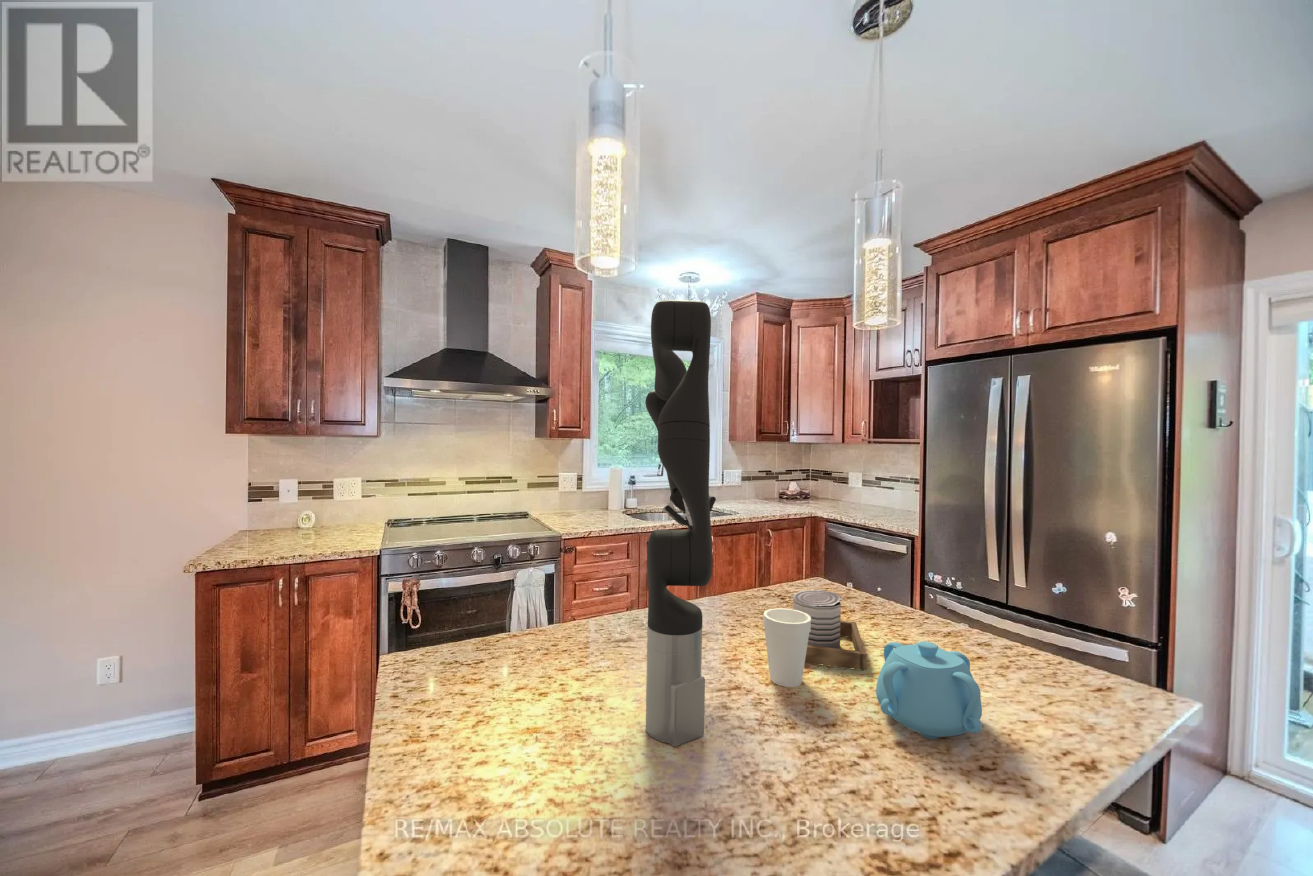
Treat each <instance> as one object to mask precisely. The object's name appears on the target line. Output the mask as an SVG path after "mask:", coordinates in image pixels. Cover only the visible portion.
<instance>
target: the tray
mask: <svg viewBox="0 0 1313 876" xmlns="http://www.w3.org/2000/svg"><path fill="white" fill-rule="evenodd" d="M840 635H842V636H841V637H845V636H851V637H852V638H851V637H850V638H851V641H853V642H852V646H853V649H855V650H852V649H851V650H850V649H843V648H842V649H841V648H840V649H836V648H827V647H819V646H811V645H807V651H806V657H805V664H811V665H818V664H823V665H822V666H826V665H830V666H829V667H833V666H836V667H835V668H841V667H842V669H843V668H844V669H849V668H854V669H853V670H856V669H861V670H860V671H864V670H866V668H867V653H866V650H865V647H864V643H863V641H862V637H861V633H860V631H859V627H858V623H857V622H856V621H847V620H840Z"/></svg>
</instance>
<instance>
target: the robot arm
mask: <svg viewBox="0 0 1313 876" xmlns="http://www.w3.org/2000/svg"><path fill="white" fill-rule="evenodd" d="M650 318H651V320H650V337H651V338H650V340H651V349H652V357H653V363H654V367H655V368H654V369H655V373H654V374H655V375H654V390H652V391H649V392H648V393H647V395H646V397H645V401H644V402H645V408H646V410H647V412H648V415H649V416H650V418H651V420H652V421H653V424H654V425H655V427H656V430H657V453H658V454H657V455H658V457H659V460H660V462H661V464H662V466H663V468H664V469H665V472H666V476H667V480H668V485H669V489H670V497H669V499H670V501H669V502H668V503H667V504H666V506H664V507H663V511H664V513H666V514H667V515H668V516H669V517H671V518H672V519H673V520H674V521H675V522H677V524H679V525H680V526H686V527H687V529H664V528H663V529H655V530H653V531H652V532H651V533H650V535H649V536H648V537H649V538H648V540H647V551H646V553H647V554H646V556H647V558H646V559H647V561H646V562H647V583H648V584H647V585H648V586H647V587H648V601H647V602H648V607H647V608H648V609H647V633H646V635H647V637H646V638H647V639H646V640H647V641H646V677H645V678H646V681H645V682H646V683H645V684H646V685H645V688H646V689H645V730H646V732H647V734H648V735H649V736H650V737H651V738H653V739H655V740H657V741H659V742H662V743H667V744H670V745H672V746H673V747H677V746H681V745H683V744H686V743H688V742H690V741H693V740H695V739H698V738H700V737H702V736H703V737H704V735H705V705H706V704H705V700H706V699H705V698H706V696H705V695H706V694H705V693H706V678H705V677H704V676H703V675H702V655H703V651H702V650H703V611H702V610H701V608H700V607H699V606H698V605H697V604H695V603H692V602H691V601H687V600H685V599H683V598H680V597H679V596H677V595H675V594H673V593H672V592H671V591H670V590H669V589H668V588H667V587H668V586H670V587H671V586H672V587H673V586H674V587H675V586H676V587H688V586H689V587H704V586H707V585H708V584H709V583H710V580H711V579H712V573H713V540H712V539H713V538H712V524H711V512H712V509H713V506H714V505H715V502H716V501H717V500H716V497H715V496H711V495H710V459H711V458H710V454H711V453H710V452H711V451H710V450H711V449H710V447H711V429H710V428H711V427H710V425H711V424H710V401H709V400H710V399H709V398H710V397H709V374H710V373H709V372H710V355H711V354H710V353H711V335H712V332H711V331H712V330H711V329H712V316H711V310H710V306H709V305H708V303H706V302H705V301H701V300H685V299H684V300H681V299H677V300H674V299H666V300H659V301H657V302H655V304H654V306H653V309H652V311H651V317H650ZM676 351H678V352H691V353H692V357H691V361H690V363H689V366H688V368H687V367H686V364H685V363H684V361H683V359H681V358H680V357H679V356H678V354H677V353H675V352H676ZM676 508H677V509H678V510H679V511H680V512H682V515H683V516H682V515H680V513H678V512H677V511H676Z"/></svg>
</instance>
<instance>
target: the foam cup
mask: <svg viewBox="0 0 1313 876" xmlns="http://www.w3.org/2000/svg"><path fill="white" fill-rule="evenodd" d="M762 616H763V618H762V619H763V621H762V623H763V625H762V626H763V628H764V635H765V645H766V654H767V664H768V671H769V679H770V680H771V682H772V683H774V684H776V685H778V686H782V687H786V688H787V687H788V688H793V687H799V686H800V685H801V683H802V682H803V676H804V669H805V664H806V663H805V657H806V651H807V644H808V637H809V633H810V630H811V617H810V616H809V615H808V614H806V613H804V612H801V611H798V610H793V608H784V607H783V608H781V607H778V608H769V609H766V610H764V612H763V615H762Z"/></svg>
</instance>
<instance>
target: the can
mask: <svg viewBox="0 0 1313 876" xmlns="http://www.w3.org/2000/svg"><path fill="white" fill-rule="evenodd" d="M790 597H791V598H792V601H793V603H792V609H793V610H798V611H801V612H804V613H806V614H808V615H809V616H810V617H811V630H810V633H809V637H808V644H807V645H811V646H819V647H827V648H836V649H841V636H840V621H841V609H842V608H841V607H842V606H841V604H842V603H841V601H843V600H844V599H843V598H842V597H841V596H840V595H839V594H838V593H837V592H832V591H827V590H822V589H809V590H808V589H807V590H804V589H803V590H799V591H797V592H796V593H793V594H791V595H790Z"/></svg>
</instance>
